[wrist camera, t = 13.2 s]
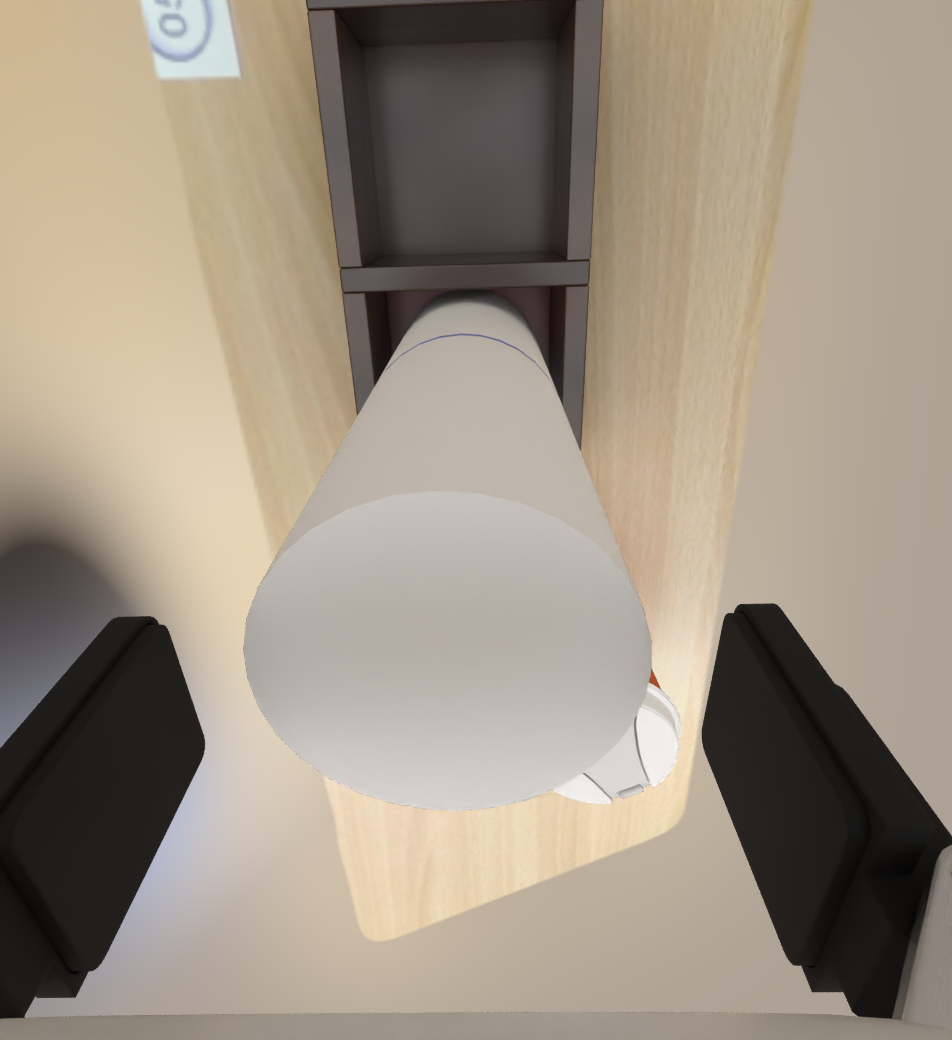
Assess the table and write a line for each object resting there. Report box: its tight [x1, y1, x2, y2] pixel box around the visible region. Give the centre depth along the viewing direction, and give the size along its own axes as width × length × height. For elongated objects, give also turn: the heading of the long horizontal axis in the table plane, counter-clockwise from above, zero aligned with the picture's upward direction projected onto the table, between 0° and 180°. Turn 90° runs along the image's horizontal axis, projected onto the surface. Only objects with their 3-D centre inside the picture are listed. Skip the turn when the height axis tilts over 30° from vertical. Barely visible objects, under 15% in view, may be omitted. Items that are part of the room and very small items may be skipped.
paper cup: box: [554, 668, 681, 804], centre depth 35 cm, size 8×8×14 cm
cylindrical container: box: [243, 289, 652, 811], centre depth 22 cm, size 7×7×25 cm
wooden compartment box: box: [306, 0, 604, 452], centre depth 29 cm, size 20×10×7 cm, turn 2°
